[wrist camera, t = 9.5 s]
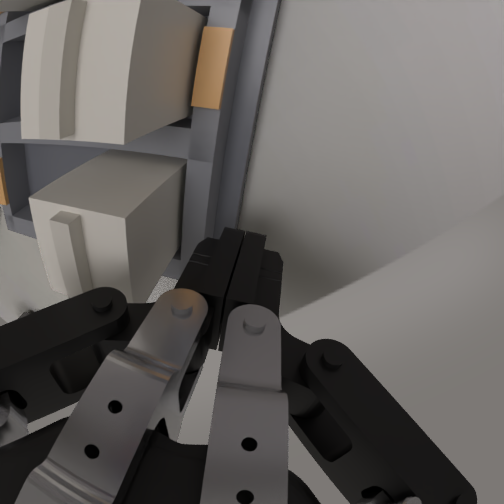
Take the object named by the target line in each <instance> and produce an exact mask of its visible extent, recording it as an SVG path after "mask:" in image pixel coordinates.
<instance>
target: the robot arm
mask: <svg viewBox="0 0 504 504" xmlns="http://www.w3.org/2000/svg"><path fill="white" fill-rule="evenodd" d="M244 235H245V231H243V230H238V229H234V228H229V227H225V228H224V230H223V232H222V234H221V236H220V239H214V238H210V237H207V238H206V239H204V240H202V241H201V242H199V243H198V244H197V246H196V248H195V250H194V252H193V254H192V255H191V257H190V259H189V262H188V263H187V265H186V267H185V269H184V270H183V272H182V274H181V276H180V278H179V280H178V282H177V284H176V286H175V288H174V289H172V290H169V291H167V292H165V293H163V294H162V295H161V296H160V297H159V298H158V300H157V301H156V302H153V303H127V300H126V297H125V295H124V294H123V293H122V292H121V291H119V290H118V289H115V288H112V287H99V288H95V289H92V290H90V291H87V292H84V293H82V294H79V295H77V296H74V297H72V298H69V299H67V300H64V301H62V302H59V303H57V304H54V305H52V306H49V307H47V308H44V309H42V310H39V311H37V312H34V313H32V314H29V315H27V316H24V317H22V318H19V319H17V320H15V321H12V322H10V323H7V324H5V325H2V326H0V504H321V503H320V502H319V501H318V500H317V498H316V497H315V495H314V494H313V493H312V491H311V490H310V489H309V487H308V486H307V485H306V484H305V483H304V482H303V481H302V480H301V479H300V478H299V477H298V476H297V475H295V474H294V473H293V472H291V471H290V470H288V425H289V426H290V427H291V429H292V430H293V431H294V433H295V434H296V435H297V437H298V438H299V440H300V441H301V442H302V444H303V445H304V446H305V447H306V449H307V450H308V451H309V453H310V454H311V455H312V457H313V458H314V459H315V461H316V462H317V463H318V464H319V466H320V467H321V468H322V470H323V471H324V472H325V473H326V475H327V476H328V477H329V478H330V480H331V481H332V482H333V483H334V485H335V486H336V487H337V488H338V489H339V491H340V492H341V493H342V494H343V495H344V497H345V498H346V499H347V500H348V501H349V503H350V504H477V496H476V492H475V490H474V488H473V487H472V485H471V484H470V483H469V482H468V481H467V480H466V479H465V477H464V476H463V475H462V474H461V473H460V472H459V471H458V470H457V469H456V467H455V466H454V465H453V464H452V463H451V462H450V460H449V459H448V458H447V457H446V456H445V455H444V454H443V453H442V452H441V450H440V449H439V448H438V447H437V446H436V445H435V444H434V443H433V441H432V440H431V439H430V438H429V437H428V436H427V435H426V434H425V432H424V431H423V430H422V429H421V428H420V427H419V426H418V425H417V423H416V422H415V421H414V420H413V419H412V418H411V417H410V416H409V414H408V413H407V412H406V411H405V410H404V409H403V408H402V407H401V406H400V405H399V403H398V402H397V401H396V400H395V399H394V398H393V397H392V396H391V394H390V393H389V392H388V391H387V390H386V389H385V388H384V387H383V386H382V384H381V383H380V382H379V381H378V380H377V379H376V378H375V377H374V376H373V374H372V373H371V372H370V371H369V370H368V369H367V368H366V367H365V366H364V365H363V363H362V362H361V361H360V360H359V359H358V358H357V357H356V356H355V355H354V353H353V352H352V351H351V350H350V349H349V348H348V347H347V346H345V345H344V344H342V343H340V342H338V341H336V340H332V339H321V340H317V341H315V342H313V343H312V344H311V345H310V344H307V343H305V342H303V341H301V340H299V339H297V338H295V337H293V336H292V335H290V334H289V333H288V332H287V331H286V330H285V329H284V328H283V326H282V325H281V323H280V320H279V305H280V294H281V281H282V271H283V261H282V259H281V257H280V255H279V253H278V252H275V251H270V250H265V249H264V246H265V241H266V235H262V234H257V233H253V232H248V231H247V232H246V235H245V238H244ZM219 338H220V342H219ZM218 342H219V349H218V350H219V351H223V352H222V358H221V364H220V370H219V376H218V382H217V389H216V395H215V402H214V408H213V415H212V421H211V428H210V435H209V441H208V445H188V444H180V443H177V439H178V436H179V433H180V429H181V424H182V420H183V416H184V413H185V411H186V408H187V406H188V403H189V401H190V399H191V396H192V394H193V391H194V389H195V386H196V384H197V381H198V379H199V376H200V374H201V371H202V368H203V363H204V362H205V359H206V356H207V352H208V349H214V350H216V349H217V345H218ZM75 352H76V353H75ZM78 401H79V402H78ZM76 402H78V403H77V405H76V407H75V408H74V410H73V412H72V414H71V415H70V416H69V417H66V418H63V419H60V420H58V421H56V422H54V423H52V424H50V425H48V426H46V427H44V428H42V429H39V430H38V431H35V432H33V433H31V434H29V435H28V429H27V424H28V423H30V422H32V421H35V420H37V419H40V418H42V417H44V416H46V415H49V414H51V413H54V412H56V411H58V410H60V409H63V408H65V407H67V406H69V405H72V404H74V403H76Z"/></svg>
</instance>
